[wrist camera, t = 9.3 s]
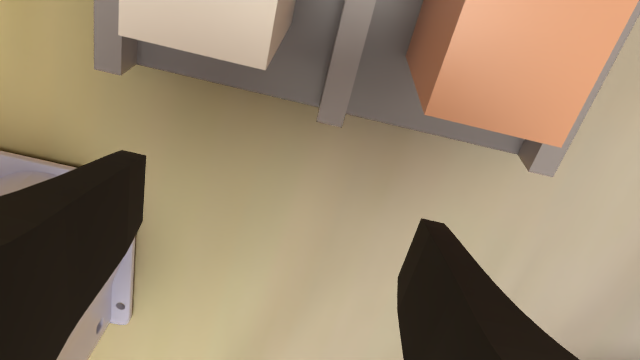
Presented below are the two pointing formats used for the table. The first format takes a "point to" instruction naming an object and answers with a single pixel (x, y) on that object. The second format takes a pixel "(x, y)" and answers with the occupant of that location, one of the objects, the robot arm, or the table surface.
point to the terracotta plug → (513, 61)
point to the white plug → (210, 27)
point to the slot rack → (337, 70)
